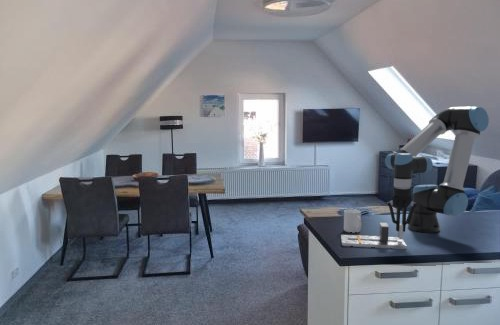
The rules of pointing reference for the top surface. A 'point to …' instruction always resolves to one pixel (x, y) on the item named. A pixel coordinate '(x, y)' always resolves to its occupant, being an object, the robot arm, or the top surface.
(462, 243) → the top surface
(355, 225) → the mug
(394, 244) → the fader console
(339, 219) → the top surface
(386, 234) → the fader tab
